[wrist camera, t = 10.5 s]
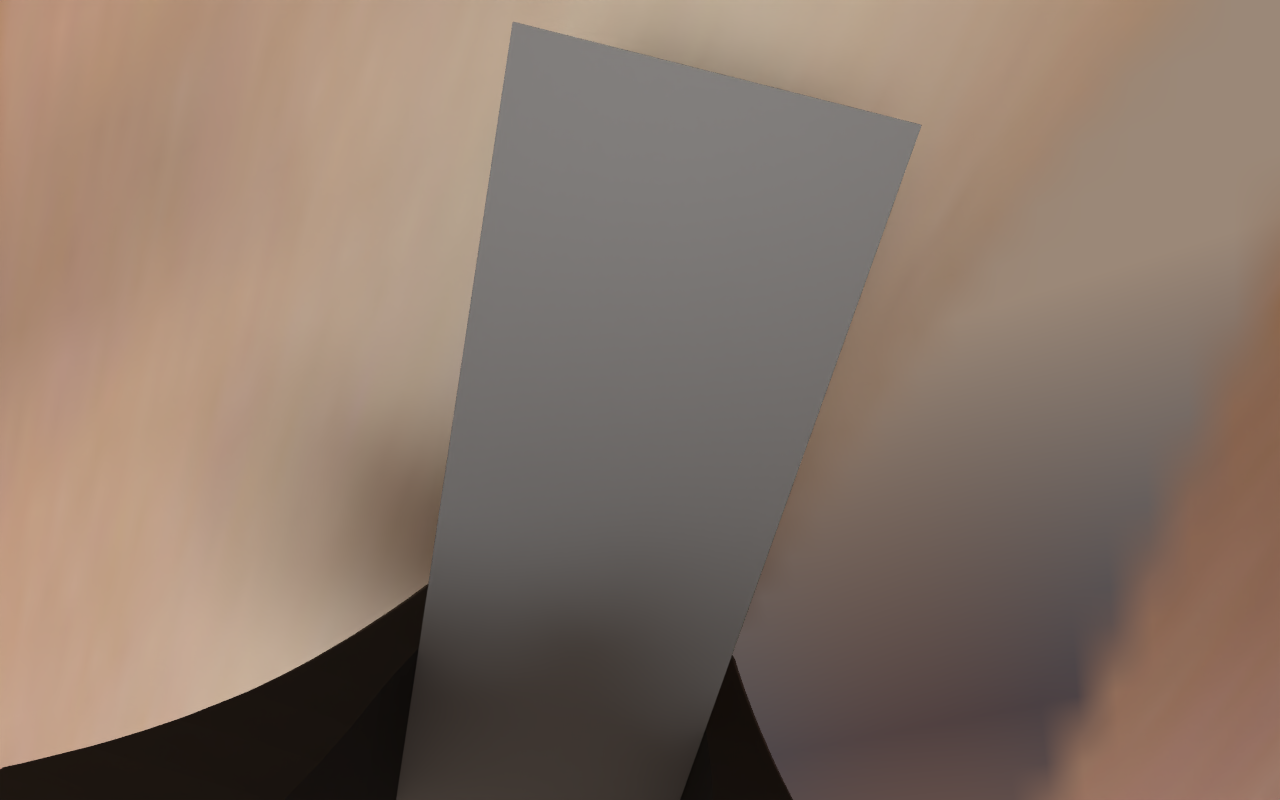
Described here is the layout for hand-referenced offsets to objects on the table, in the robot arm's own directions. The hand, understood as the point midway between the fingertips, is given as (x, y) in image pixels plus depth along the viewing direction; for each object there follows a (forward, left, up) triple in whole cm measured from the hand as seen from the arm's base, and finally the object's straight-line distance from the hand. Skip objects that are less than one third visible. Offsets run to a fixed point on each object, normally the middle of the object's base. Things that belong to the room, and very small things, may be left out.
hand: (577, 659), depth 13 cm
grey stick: (0, 0, -3) cm, 3 cm away
